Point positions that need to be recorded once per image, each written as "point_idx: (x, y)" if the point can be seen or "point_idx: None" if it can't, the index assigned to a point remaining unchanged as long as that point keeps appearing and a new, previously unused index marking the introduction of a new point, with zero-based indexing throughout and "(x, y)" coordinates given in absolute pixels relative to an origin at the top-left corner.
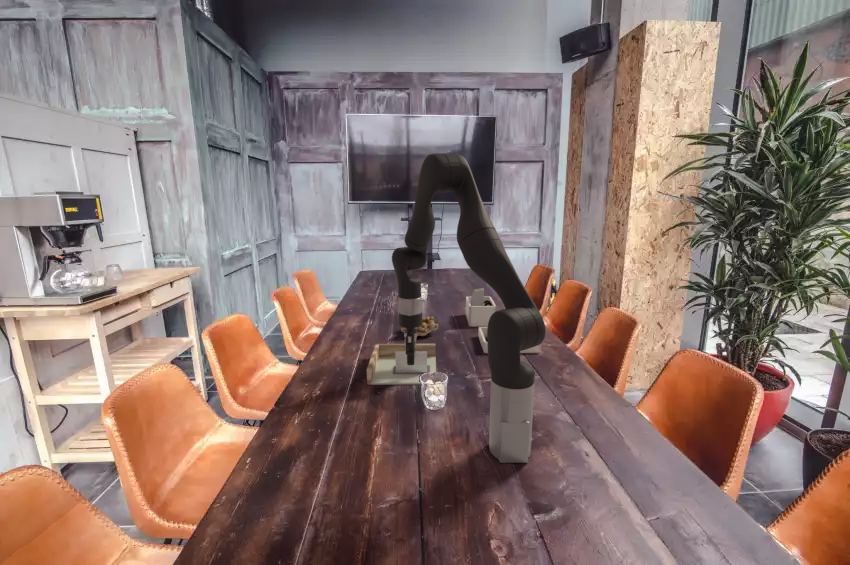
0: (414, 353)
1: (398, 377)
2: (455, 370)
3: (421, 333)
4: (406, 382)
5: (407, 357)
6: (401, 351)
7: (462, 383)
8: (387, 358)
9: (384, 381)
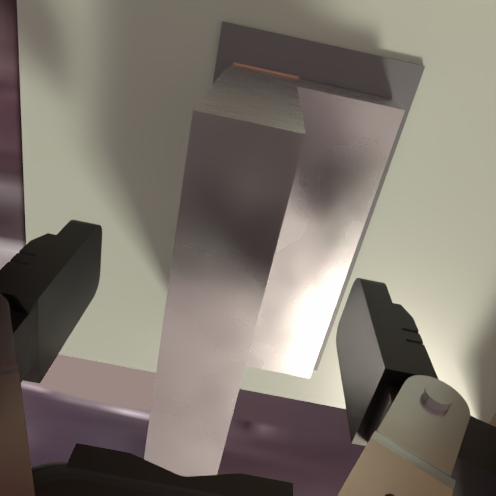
0: (163, 370)
1: (133, 77)
2: (231, 471)
3: None
4: (24, 140)
5: (28, 270)
6: (272, 224)
7: (51, 458)
8: None
9: None
